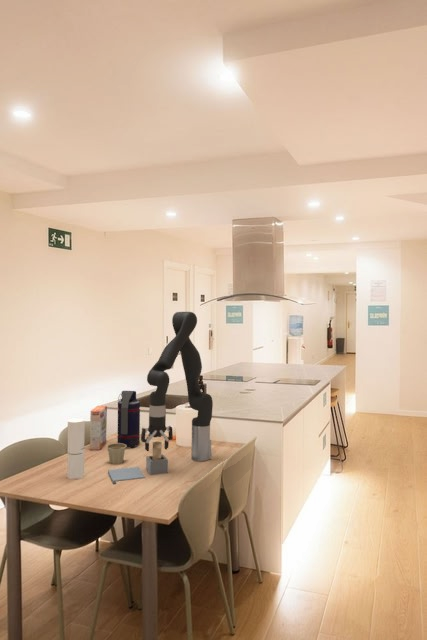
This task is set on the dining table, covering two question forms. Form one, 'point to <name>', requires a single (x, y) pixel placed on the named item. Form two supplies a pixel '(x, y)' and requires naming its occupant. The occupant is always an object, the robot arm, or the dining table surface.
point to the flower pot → (116, 452)
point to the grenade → (129, 419)
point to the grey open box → (156, 465)
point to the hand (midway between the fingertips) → (156, 449)
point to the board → (125, 474)
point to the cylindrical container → (75, 449)
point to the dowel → (157, 450)
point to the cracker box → (98, 427)
